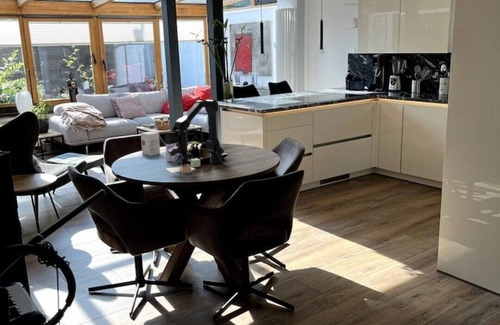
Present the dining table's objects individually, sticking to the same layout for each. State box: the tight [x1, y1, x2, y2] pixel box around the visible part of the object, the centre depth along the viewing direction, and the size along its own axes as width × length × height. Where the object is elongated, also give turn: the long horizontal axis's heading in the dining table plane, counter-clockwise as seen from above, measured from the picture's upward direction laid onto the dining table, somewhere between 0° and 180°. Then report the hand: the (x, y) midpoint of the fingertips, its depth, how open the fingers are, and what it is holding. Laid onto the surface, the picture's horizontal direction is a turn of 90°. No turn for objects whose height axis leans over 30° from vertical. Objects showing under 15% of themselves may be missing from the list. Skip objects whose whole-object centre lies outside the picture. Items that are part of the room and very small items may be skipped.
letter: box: [165, 166, 195, 174], centre depth 280 cm, size 15×11×1 cm
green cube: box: [189, 157, 201, 168], centre depth 286 cm, size 4×4×4 cm
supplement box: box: [140, 130, 161, 157], centre depth 322 cm, size 9×9×15 cm
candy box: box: [165, 143, 178, 163], centre depth 304 cm, size 14×6×16 cm, turn 169°
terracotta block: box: [179, 163, 192, 174], centre depth 272 cm, size 5×5×4 cm
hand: (183, 168), depth 276 cm, fingers closed
